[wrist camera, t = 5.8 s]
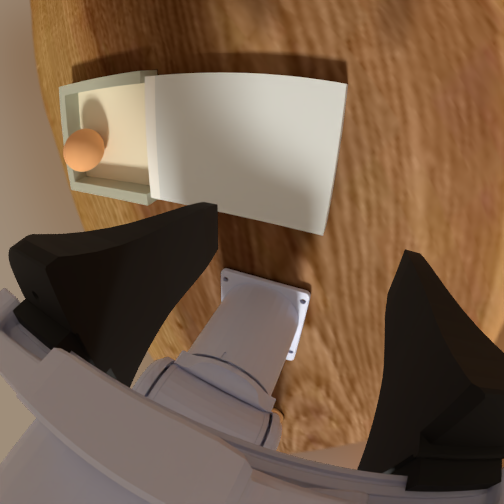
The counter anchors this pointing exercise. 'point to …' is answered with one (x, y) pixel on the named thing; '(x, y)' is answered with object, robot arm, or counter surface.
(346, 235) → the counter surface
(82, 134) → the ball
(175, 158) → the plate
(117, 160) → the tray
